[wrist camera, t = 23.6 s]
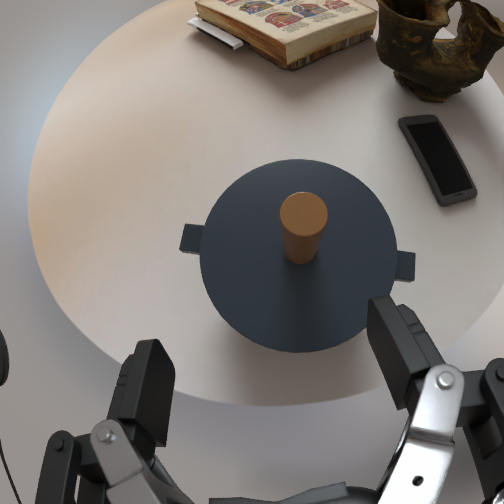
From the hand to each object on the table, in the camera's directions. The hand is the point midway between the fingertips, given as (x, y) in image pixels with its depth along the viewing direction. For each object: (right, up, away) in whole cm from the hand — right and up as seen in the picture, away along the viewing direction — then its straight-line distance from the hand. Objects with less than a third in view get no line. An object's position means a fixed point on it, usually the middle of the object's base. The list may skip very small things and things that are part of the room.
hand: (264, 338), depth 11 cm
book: (+4, +46, +33) cm, 57 cm away
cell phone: (+25, +16, +23) cm, 37 cm away
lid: (+3, +3, +12) cm, 13 cm away
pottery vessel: (+29, +31, +26) cm, 50 cm away
